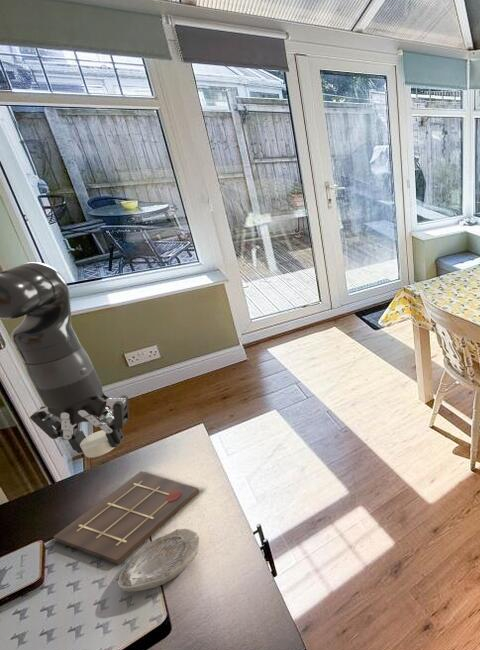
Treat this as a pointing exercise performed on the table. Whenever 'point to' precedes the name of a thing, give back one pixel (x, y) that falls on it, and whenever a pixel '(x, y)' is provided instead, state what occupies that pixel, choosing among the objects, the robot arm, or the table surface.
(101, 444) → the stone
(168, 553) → the fossil
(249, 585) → the table surface
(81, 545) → the board
